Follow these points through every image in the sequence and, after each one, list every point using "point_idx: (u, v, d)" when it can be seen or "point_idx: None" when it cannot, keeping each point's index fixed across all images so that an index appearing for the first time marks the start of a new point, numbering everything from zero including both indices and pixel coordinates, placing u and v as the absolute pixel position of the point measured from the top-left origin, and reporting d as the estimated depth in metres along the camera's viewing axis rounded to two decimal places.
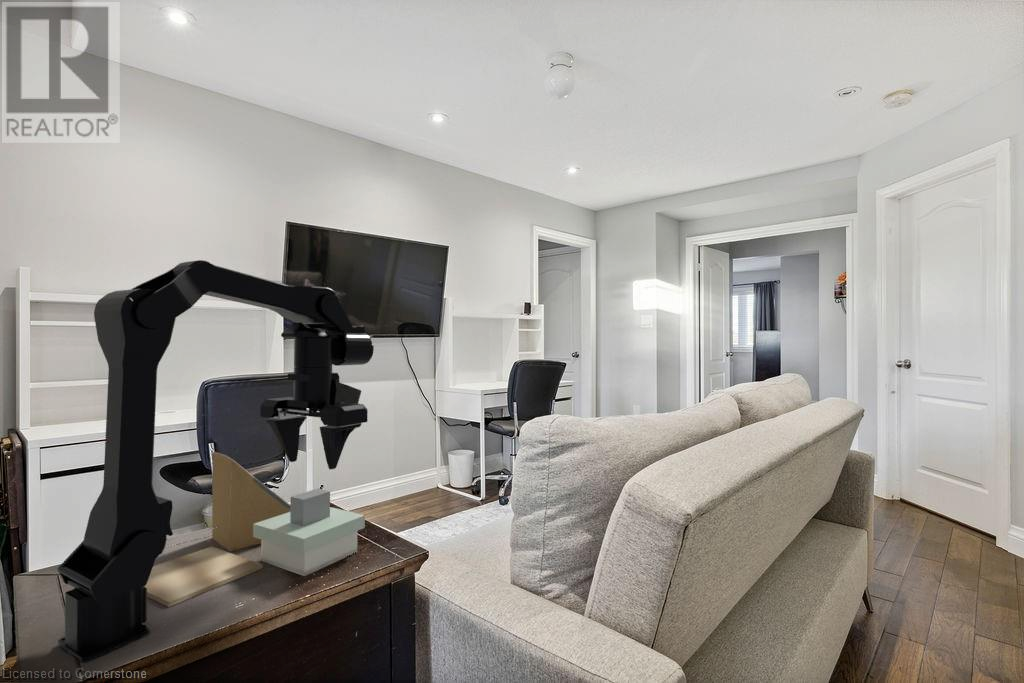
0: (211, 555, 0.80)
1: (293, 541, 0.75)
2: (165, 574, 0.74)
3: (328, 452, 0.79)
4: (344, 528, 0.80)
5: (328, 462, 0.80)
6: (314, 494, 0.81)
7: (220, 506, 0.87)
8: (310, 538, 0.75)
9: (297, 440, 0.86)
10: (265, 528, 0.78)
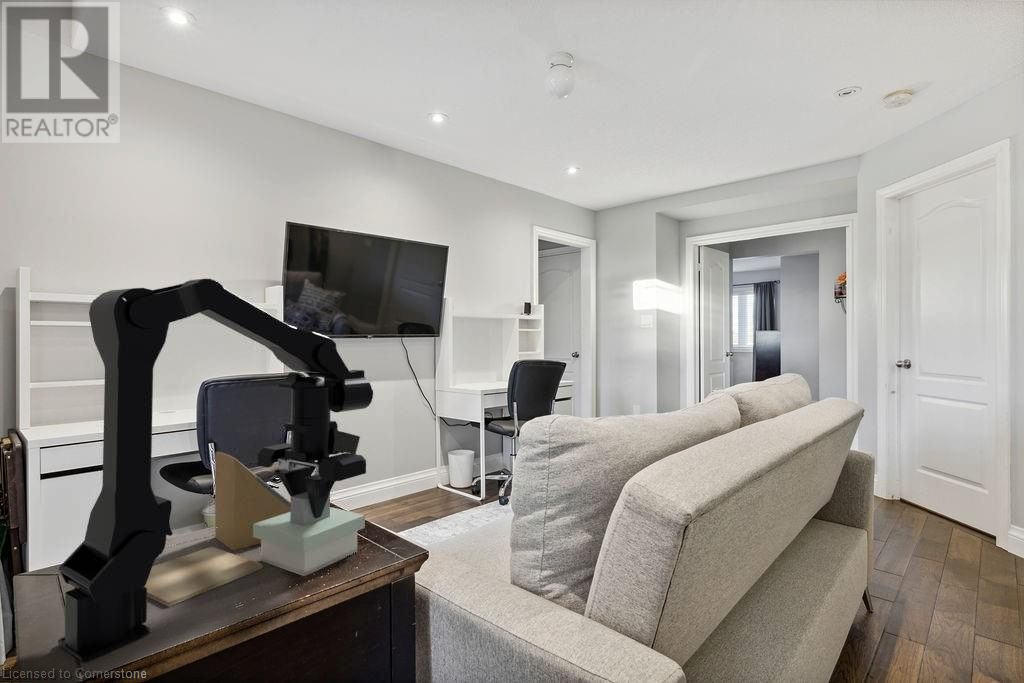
0: (211, 555, 0.80)
1: (293, 541, 0.75)
2: (165, 574, 0.74)
3: (313, 502, 0.79)
4: (344, 528, 0.80)
5: (313, 511, 0.80)
6: None
7: (223, 505, 0.87)
8: (310, 538, 0.75)
9: None
10: (265, 528, 0.78)
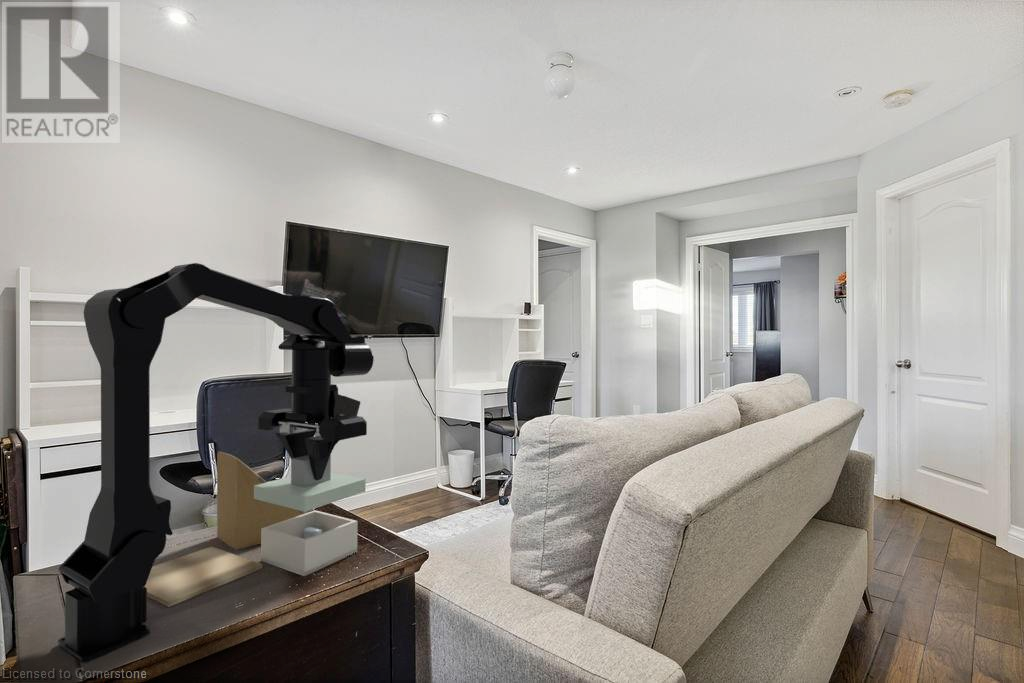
0: (211, 555, 0.80)
1: (294, 500, 0.75)
2: (165, 574, 0.74)
3: (313, 463, 0.79)
4: (345, 490, 0.80)
5: (314, 473, 0.80)
6: None
7: (225, 505, 0.87)
8: (311, 497, 0.75)
9: (308, 454, 0.83)
10: (266, 489, 0.78)
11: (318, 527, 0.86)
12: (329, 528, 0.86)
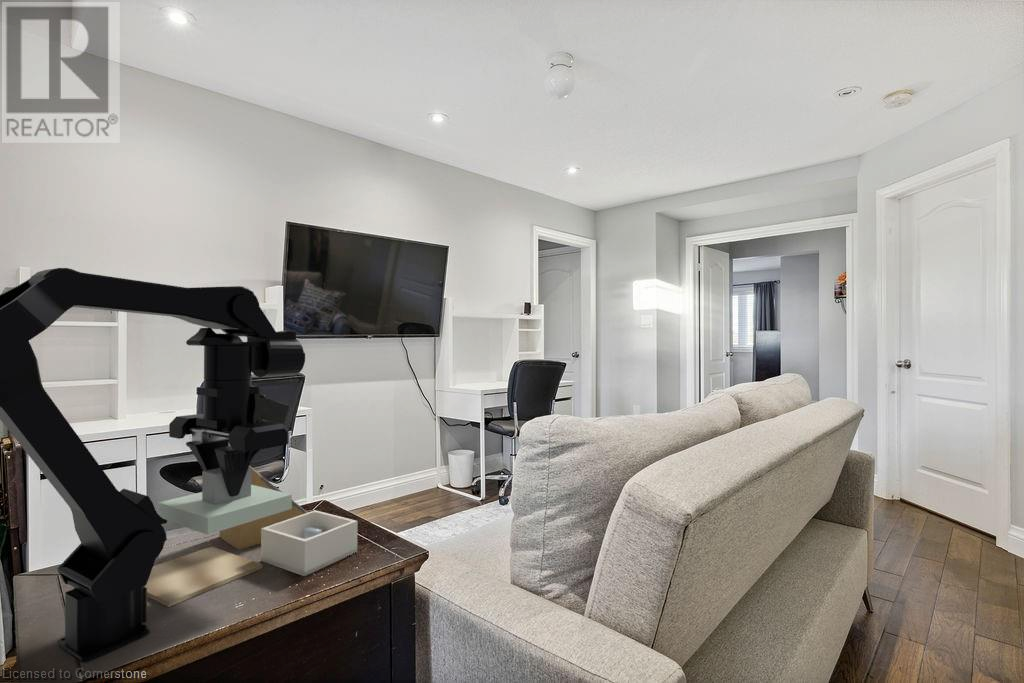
0: (211, 555, 0.80)
1: (197, 521, 0.64)
2: (165, 574, 0.74)
3: (226, 477, 0.68)
4: (264, 508, 0.70)
5: (228, 488, 0.69)
6: None
7: None
8: (217, 518, 0.64)
9: None
10: (170, 507, 0.67)
11: (318, 527, 0.86)
12: (329, 528, 0.86)
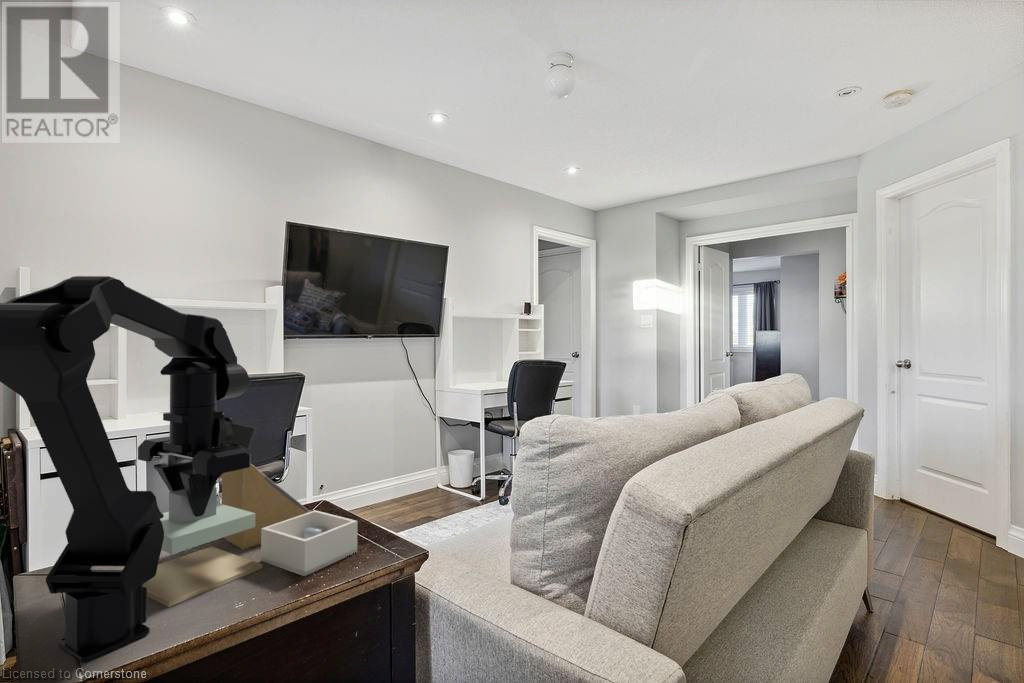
0: (211, 555, 0.80)
1: None
2: (165, 574, 0.74)
3: (191, 499, 0.72)
4: (227, 527, 0.74)
5: (193, 509, 0.73)
6: None
7: (230, 504, 0.88)
8: (181, 538, 0.68)
9: None
10: None
11: (318, 527, 0.86)
12: (329, 528, 0.86)
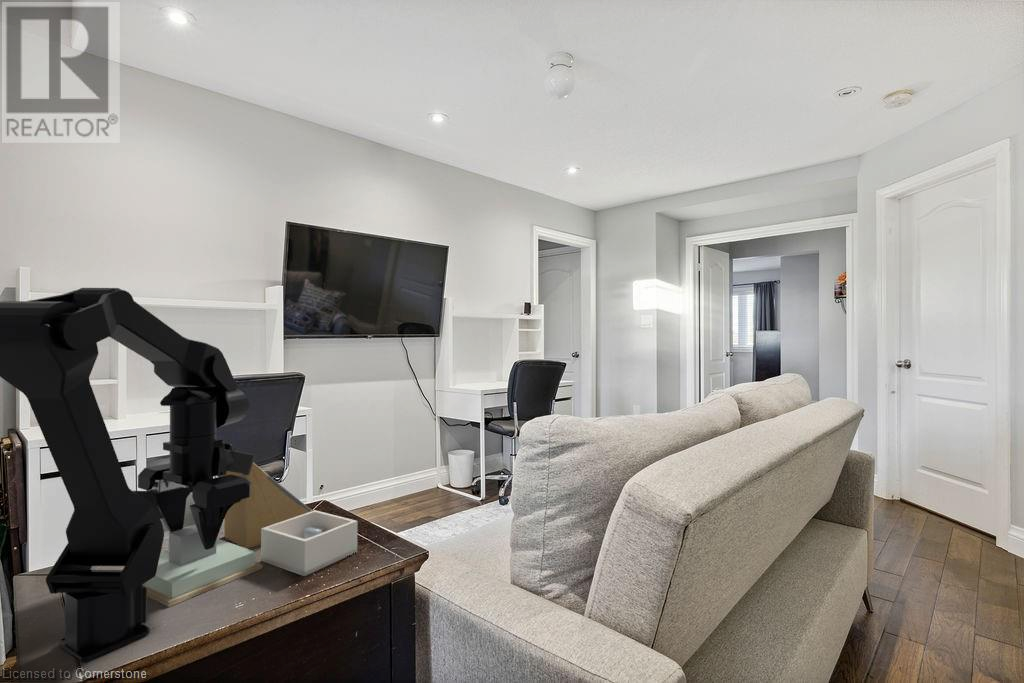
0: None
1: (163, 585, 0.68)
2: None
3: (201, 532, 0.71)
4: (227, 567, 0.74)
5: (203, 542, 0.72)
6: (196, 530, 0.75)
7: None
8: (181, 581, 0.68)
9: (182, 513, 0.78)
10: None
11: (318, 527, 0.86)
12: (329, 528, 0.86)
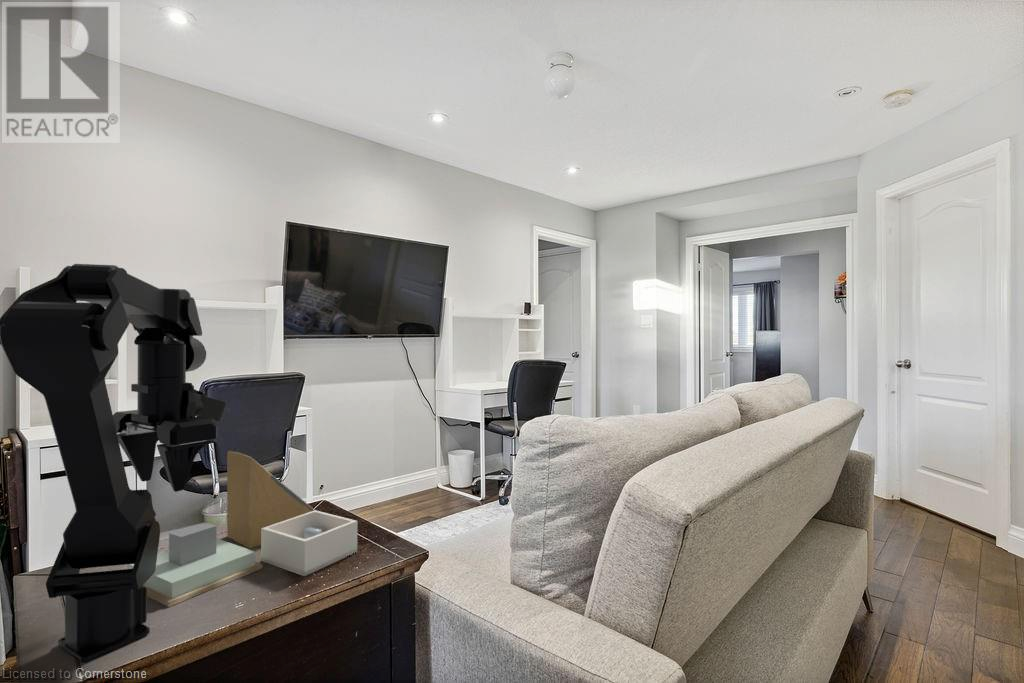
0: None
1: (163, 585, 0.68)
2: None
3: (169, 473, 0.70)
4: (227, 567, 0.74)
5: (171, 484, 0.71)
6: (196, 530, 0.75)
7: (236, 504, 0.88)
8: (181, 581, 0.68)
9: (152, 457, 0.78)
10: None
11: (318, 527, 0.86)
12: (329, 528, 0.86)
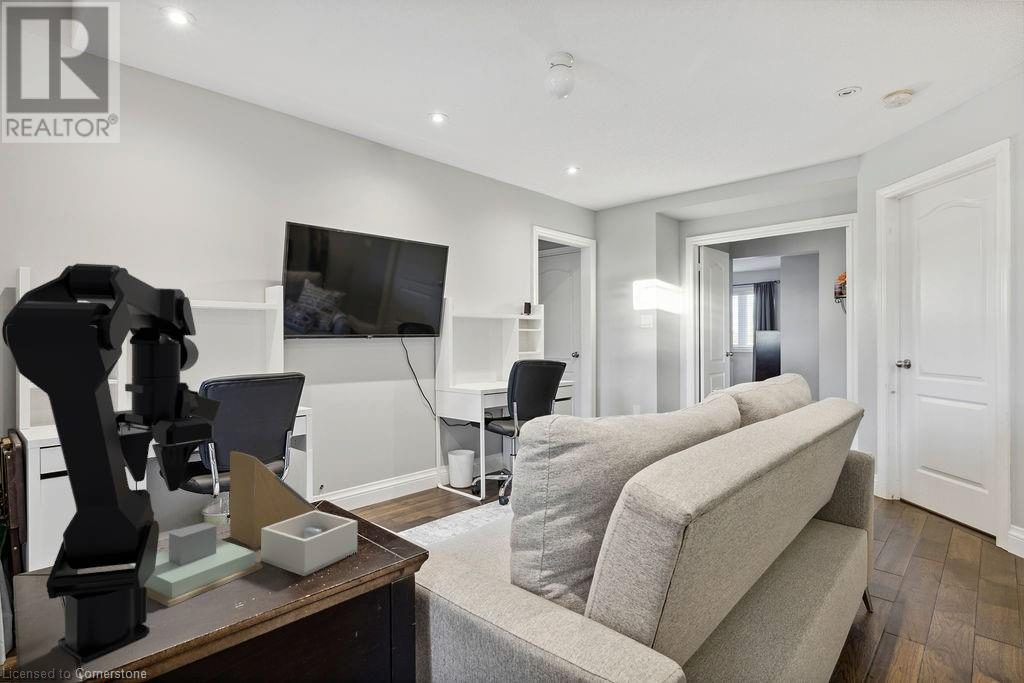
0: None
1: (163, 585, 0.68)
2: None
3: (164, 472, 0.70)
4: (227, 567, 0.74)
5: (166, 483, 0.71)
6: (196, 530, 0.75)
7: (240, 504, 0.88)
8: (181, 581, 0.68)
9: (145, 457, 0.77)
10: None
11: (318, 527, 0.86)
12: (329, 528, 0.86)
